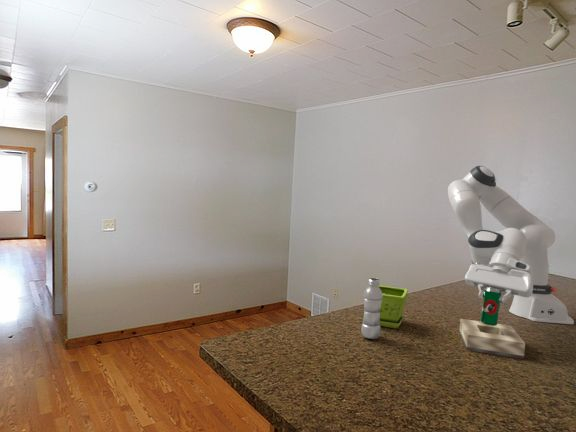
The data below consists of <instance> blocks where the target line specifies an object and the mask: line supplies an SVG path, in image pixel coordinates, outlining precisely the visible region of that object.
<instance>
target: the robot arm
mask: <svg viewBox="0 0 576 432" xmlns="http://www.w3.org/2000/svg"><path fill="white" fill-rule="evenodd" d="M447 197H448V201H449V204H450V207H451V208H452V212H454V215H455V216H456V218H457V220H458V221H459V223H460V225H461V227H462V228H463V230H464V232H465V234H466V236H467V239H468V241H467V242H468V247H469V252H470V256H471V264H470V266H469V268H468V270H467V271H466V273H465V276H464V280H465V283H466V285H468V286H472V287H476V288H478V291H479V292H478V294H477V296H478V298H481V299H483V296H484V290H485V288H486V287H493V288H498V289H501V290H500V291H501V293H503V294H502V295H501V296H500V298H499V302H500V304H505V303H506V301H507V300H509V299H510V298H511V297H512V296H513V300H512V303H511V306H510V308H509V310H508V311H509V313H511V314H513V315H515V316H517V317H520V318H525V319H528V320H529V321H533V322H539V323H540V322H541V323H551V324H552V323H553V324H560V325H561V324H563V325H574V324H575V321H574V318H572V317H571V316H569V315H568V314H569V313H568V309H567V305H565V304H564V303H563V302H562V301H561V300H560V299H558V298H557V297H556V296H555V295H554V294H553V293H556V292H557V291H558V288H556V287H554V286H551V285H549V284H548V281H549V273H550V272H549V271H550V265H549V259H548V258H549V257H548V248H550V247H552V246H553V244H555V241H556V234H555V231H554V230H553V229H552V228H551V227H550V226H549V225H548V224H546V223H545V222H543V221H542V220H541V219H539V218H538V217H537V216H535V215H534V214H533V213H531V212H530V211H528V210H527V209H526V208H525V207H524V206H522V205H521V204H520V203H519V202H518V201H517V200H516V199H514V198H513V196H512V195H510V194H509V193H508V192H507V191H505V190H504V189H502V188H500V187H499V186H497V183H496V176H495V173H494V172H493V171H492V170H491V169H490V168H488V167H486V166H484V165H476V166H475V167H473V168H472V169H471V170H470V171H469V172H468V173H467V174H466V175H465V176H464V177H463V178H462V179H455V180H453V181H451V182H450V184H449V185H448V187H447ZM481 204H482V206H483V207H484V209H486V210H487V212H489V213H490V214H491V215H492V216H493V217H494V218H495V220H496V221H498V222H499V223H500V224H501V225H502V226H504V227H505V228H504V229H503V230H488V229H483V221H482V220H483V219H482V218H483V217H482V207H481Z"/></svg>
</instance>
